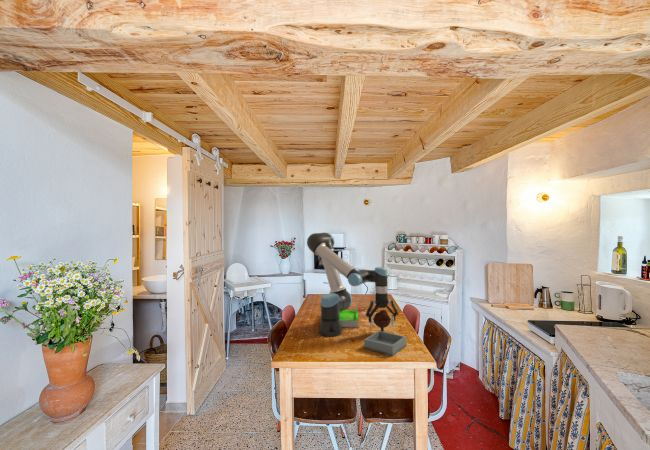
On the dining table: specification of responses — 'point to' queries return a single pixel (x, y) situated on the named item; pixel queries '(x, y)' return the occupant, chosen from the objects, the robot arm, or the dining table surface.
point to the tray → (348, 318)
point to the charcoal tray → (385, 343)
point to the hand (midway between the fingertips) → (382, 327)
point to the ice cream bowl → (382, 319)
